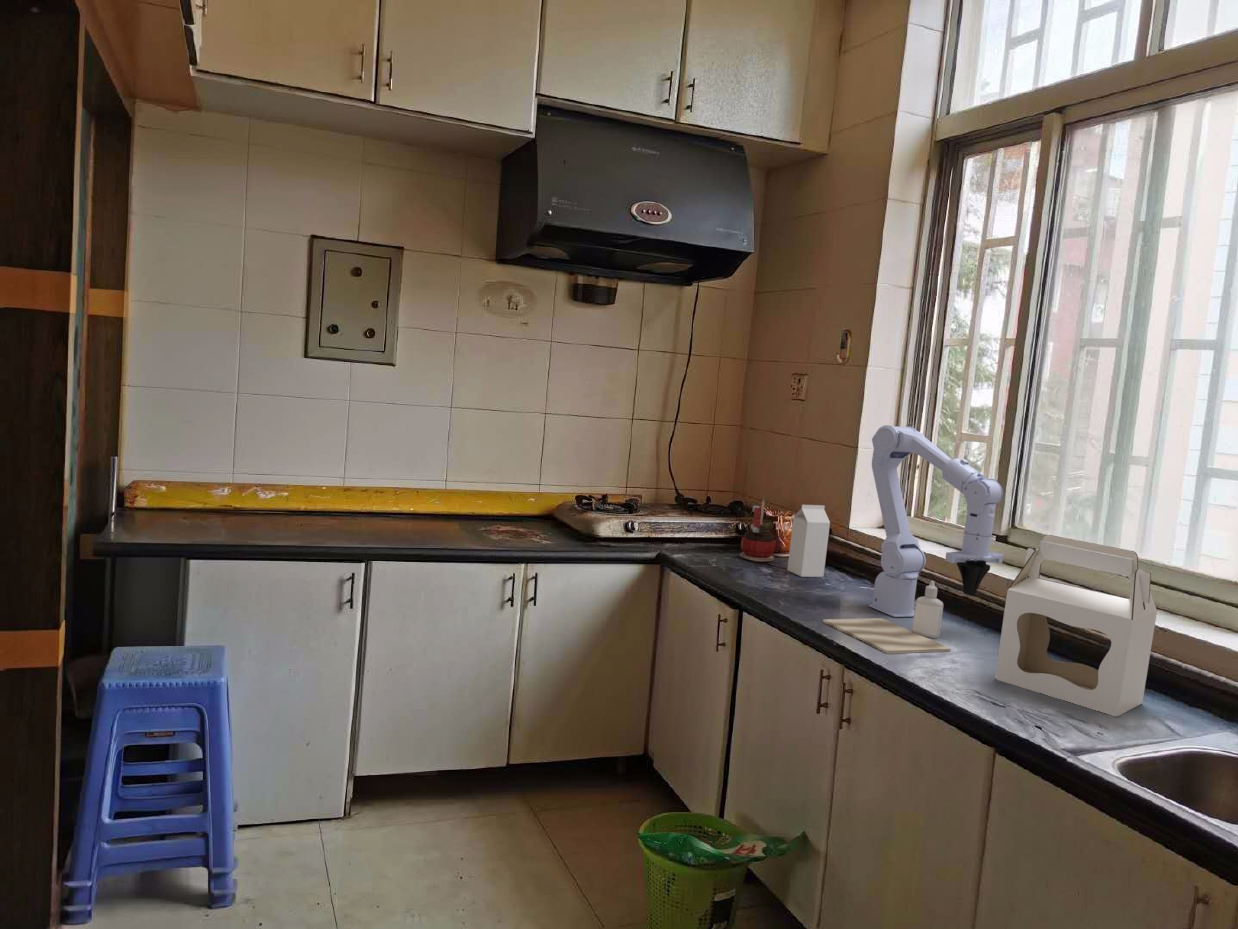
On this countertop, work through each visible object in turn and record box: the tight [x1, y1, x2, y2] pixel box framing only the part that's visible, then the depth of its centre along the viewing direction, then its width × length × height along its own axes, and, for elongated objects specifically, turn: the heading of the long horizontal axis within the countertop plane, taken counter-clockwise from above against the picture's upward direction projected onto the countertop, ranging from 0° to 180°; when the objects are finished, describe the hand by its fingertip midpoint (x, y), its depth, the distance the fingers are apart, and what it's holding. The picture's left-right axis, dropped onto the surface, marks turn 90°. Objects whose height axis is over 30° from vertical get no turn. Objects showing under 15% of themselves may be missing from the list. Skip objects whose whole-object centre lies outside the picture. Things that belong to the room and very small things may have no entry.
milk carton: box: [786, 504, 831, 578], centre depth 259 cm, size 7×7×19 cm
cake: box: [739, 497, 777, 563], centre depth 273 cm, size 11×9×18 cm
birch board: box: [822, 617, 952, 655], centre depth 203 cm, size 22×16×1 cm
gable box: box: [994, 534, 1158, 718], centre depth 176 cm, size 22×13×28 cm, turn 44°
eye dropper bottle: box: [911, 580, 944, 639], centre depth 207 cm, size 4×6×12 cm
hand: (969, 594), depth 211 cm, fingers closed
